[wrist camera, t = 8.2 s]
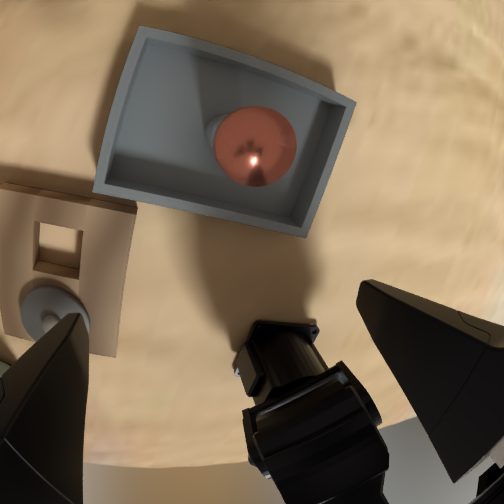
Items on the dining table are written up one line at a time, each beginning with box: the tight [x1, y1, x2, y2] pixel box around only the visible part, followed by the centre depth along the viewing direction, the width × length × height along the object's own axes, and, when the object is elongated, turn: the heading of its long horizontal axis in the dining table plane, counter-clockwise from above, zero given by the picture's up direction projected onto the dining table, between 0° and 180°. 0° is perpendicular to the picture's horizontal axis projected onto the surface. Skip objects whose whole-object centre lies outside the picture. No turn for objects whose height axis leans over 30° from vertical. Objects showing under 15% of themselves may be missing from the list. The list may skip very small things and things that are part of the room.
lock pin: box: [205, 106, 297, 187], centre depth 15 cm, size 3×3×8 cm
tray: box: [93, 26, 357, 238], centre depth 18 cm, size 14×10×2 cm
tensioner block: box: [0, 183, 138, 358], centre depth 18 cm, size 10×12×3 cm
